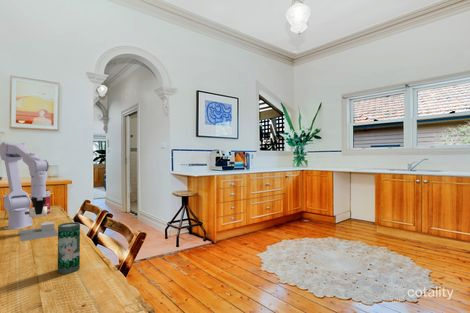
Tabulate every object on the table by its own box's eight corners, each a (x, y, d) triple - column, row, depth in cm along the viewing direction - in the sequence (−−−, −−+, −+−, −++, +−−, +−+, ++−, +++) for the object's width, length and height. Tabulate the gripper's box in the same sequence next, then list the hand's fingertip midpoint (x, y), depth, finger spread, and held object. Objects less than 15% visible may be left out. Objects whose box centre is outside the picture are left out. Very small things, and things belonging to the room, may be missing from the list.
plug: (25, 218, 124) (25, 209, 124) (24, 216, 127) (24, 208, 127) (52, 215, 131) (52, 207, 131) (50, 213, 134) (51, 205, 134)
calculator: (38, 216, 162) (38, 191, 162) (31, 216, 162) (31, 191, 162) (51, 212, 173) (51, 189, 173) (44, 212, 173) (44, 189, 173)
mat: (18, 231, 130) (18, 231, 130) (53, 227, 140) (53, 226, 140) (20, 242, 115) (20, 241, 115) (59, 236, 125) (59, 235, 125)
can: (56, 275, 85) (57, 227, 85) (59, 268, 90) (59, 223, 90) (79, 271, 87) (79, 225, 87) (80, 264, 93) (80, 221, 93)
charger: (40, 229, 134) (40, 223, 134) (52, 227, 137) (52, 221, 137) (41, 231, 130) (41, 225, 130) (54, 229, 134) (54, 223, 134)
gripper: (50, 186, 126) (50, 214, 126) (46, 183, 137) (46, 209, 137) (31, 187, 122) (31, 217, 122) (29, 184, 132) (29, 211, 133)
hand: (38, 213), depth 129 cm, fingers closed on plug, 4 cm apart
